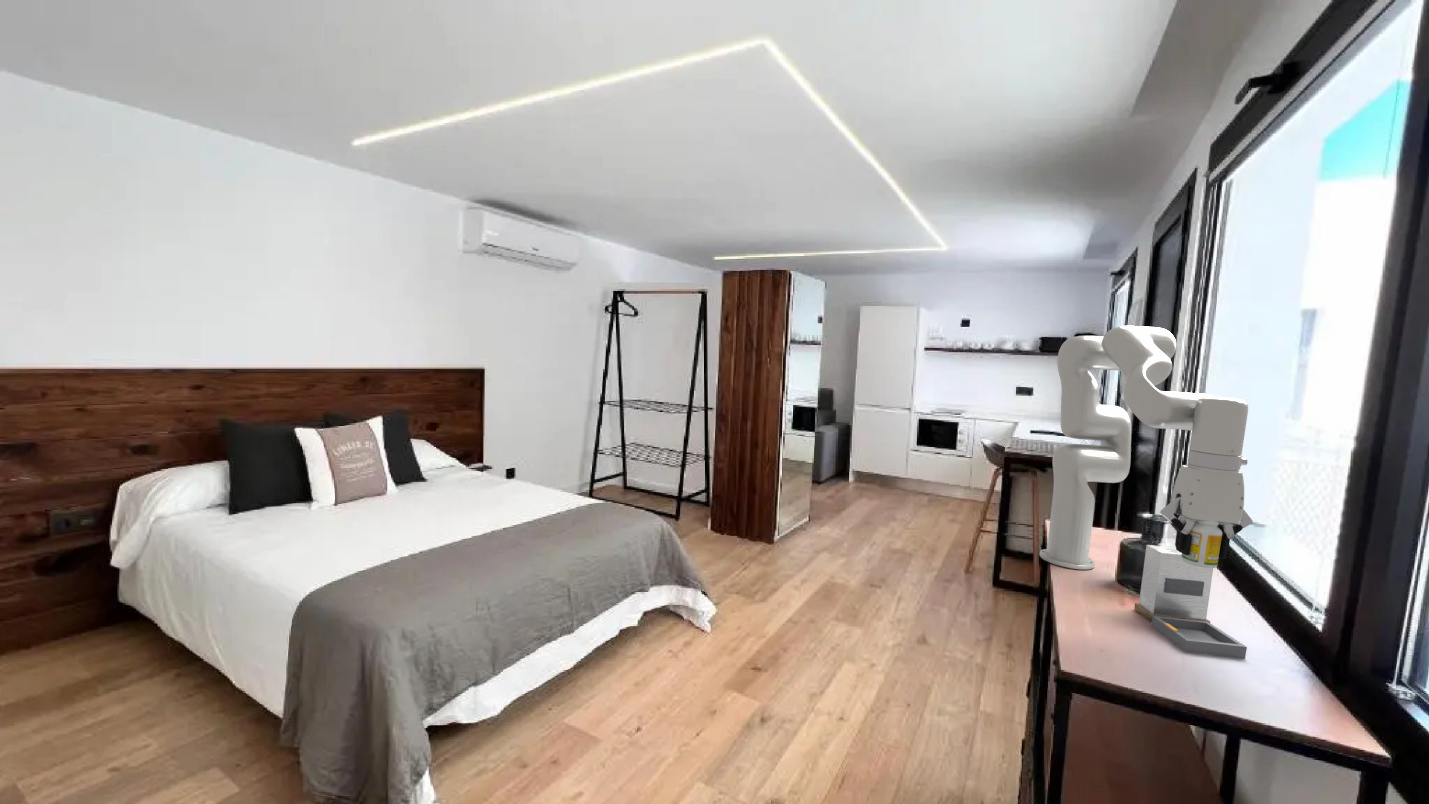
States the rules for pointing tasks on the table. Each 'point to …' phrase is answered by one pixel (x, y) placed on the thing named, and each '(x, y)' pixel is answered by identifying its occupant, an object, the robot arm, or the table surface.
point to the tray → (1198, 637)
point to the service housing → (1173, 586)
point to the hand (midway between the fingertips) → (1200, 553)
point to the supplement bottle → (1204, 544)
